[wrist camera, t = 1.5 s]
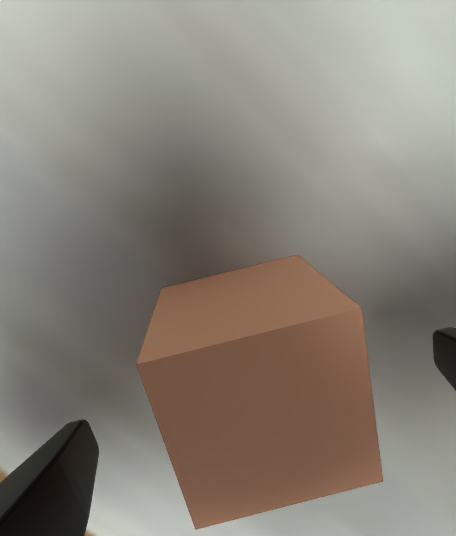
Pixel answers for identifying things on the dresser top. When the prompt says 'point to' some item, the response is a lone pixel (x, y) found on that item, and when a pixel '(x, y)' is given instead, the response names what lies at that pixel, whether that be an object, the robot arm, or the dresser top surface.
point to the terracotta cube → (261, 389)
